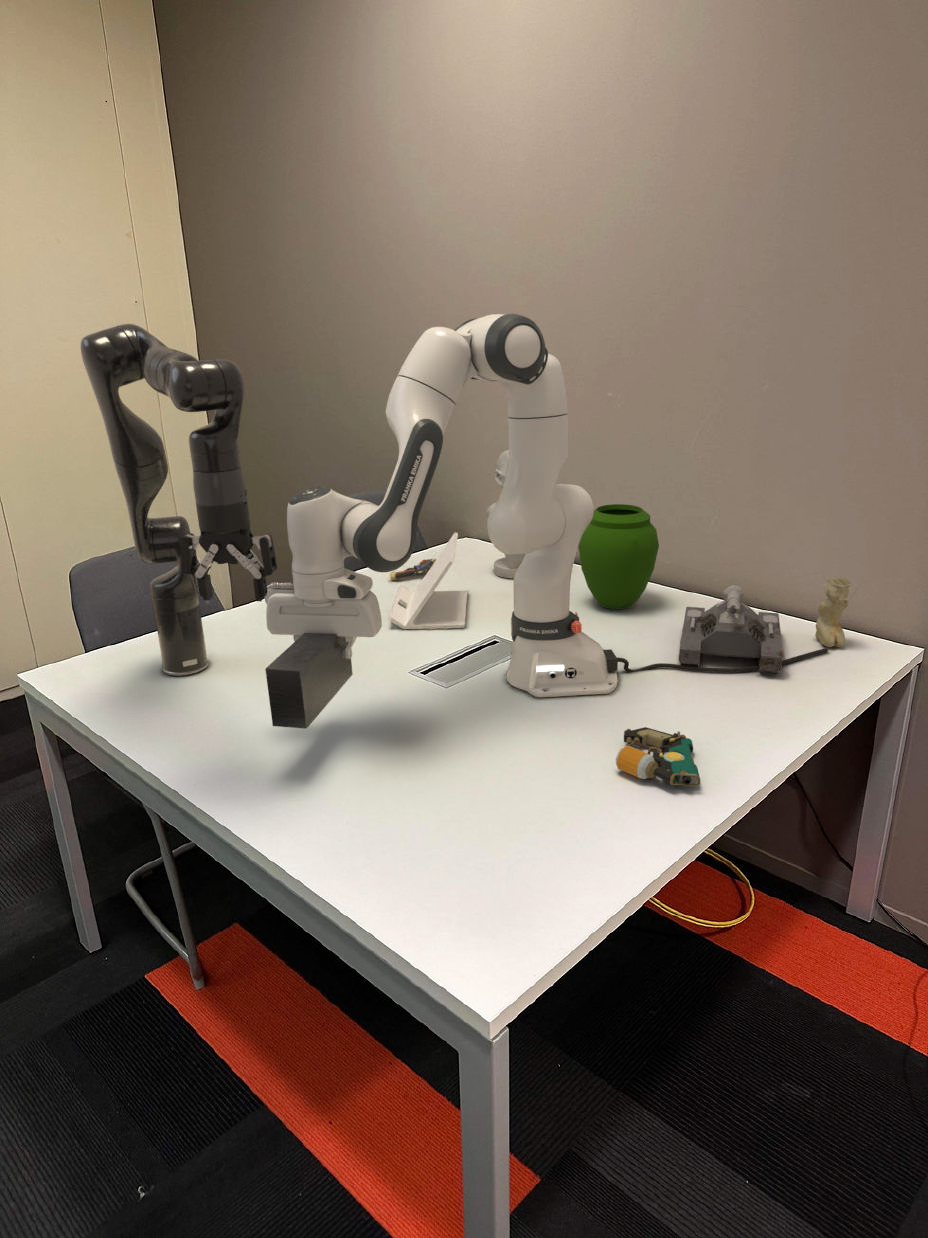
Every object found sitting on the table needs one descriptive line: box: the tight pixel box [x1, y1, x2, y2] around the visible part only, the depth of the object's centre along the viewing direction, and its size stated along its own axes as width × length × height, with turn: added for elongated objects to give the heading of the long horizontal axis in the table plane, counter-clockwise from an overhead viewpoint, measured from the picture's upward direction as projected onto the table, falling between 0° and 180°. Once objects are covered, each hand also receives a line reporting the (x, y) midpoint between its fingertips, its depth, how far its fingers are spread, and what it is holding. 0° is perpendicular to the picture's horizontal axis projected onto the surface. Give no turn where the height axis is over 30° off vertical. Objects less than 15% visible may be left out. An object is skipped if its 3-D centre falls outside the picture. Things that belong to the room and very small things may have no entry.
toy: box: [678, 584, 784, 674], centre depth 182 cm, size 25×20×15 cm
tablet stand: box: [388, 531, 468, 630], centre depth 211 cm, size 18×25×17 cm
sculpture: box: [814, 576, 852, 648], centre depth 185 cm, size 6×7×15 cm
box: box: [264, 633, 353, 730], centre depth 145 cm, size 22×6×10 cm, turn 167°
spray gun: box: [615, 726, 701, 787], centre depth 141 cm, size 4×17×15 cm
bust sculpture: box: [485, 449, 525, 579], centre depth 231 cm, size 16×24×35 cm
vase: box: [578, 503, 660, 610], centre depth 210 cm, size 20×20×24 cm
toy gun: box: [389, 558, 437, 581], centre depth 244 cm, size 3×19×10 cm
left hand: (234, 599), depth 134 cm, fingers open, 8 cm apart
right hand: (327, 657), depth 151 cm, fingers closed on box, 6 cm apart
